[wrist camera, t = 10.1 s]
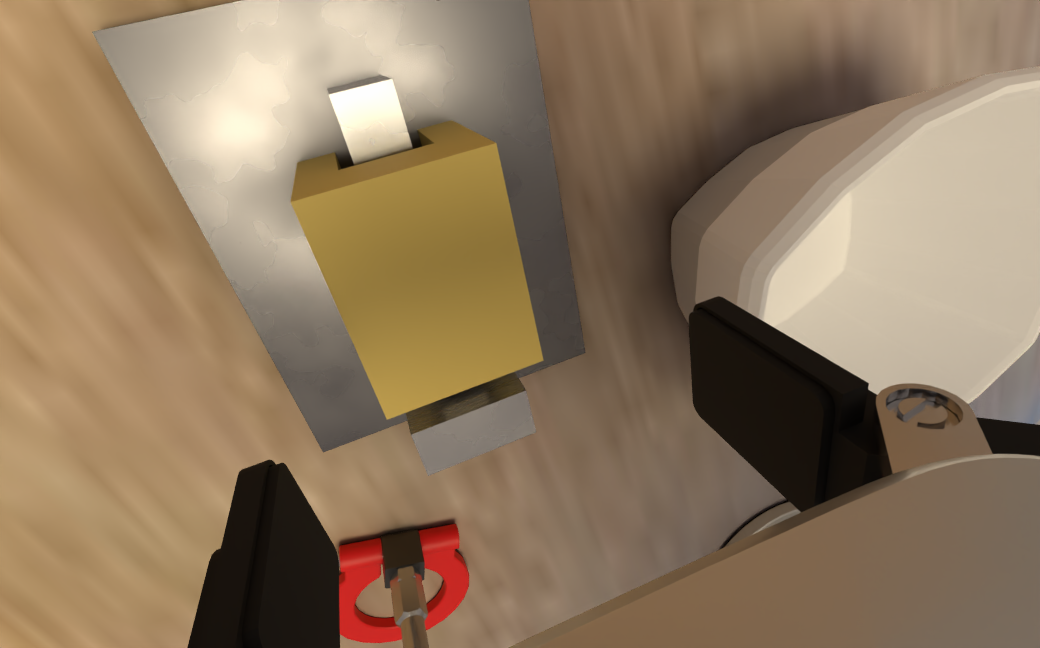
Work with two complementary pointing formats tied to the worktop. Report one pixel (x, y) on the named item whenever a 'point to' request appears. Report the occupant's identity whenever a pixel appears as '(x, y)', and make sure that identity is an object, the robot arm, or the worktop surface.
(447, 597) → the tow hook
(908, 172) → the bowl
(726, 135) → the worktop surface
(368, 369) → the notched yellow block
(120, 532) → the worktop surface
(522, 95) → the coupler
